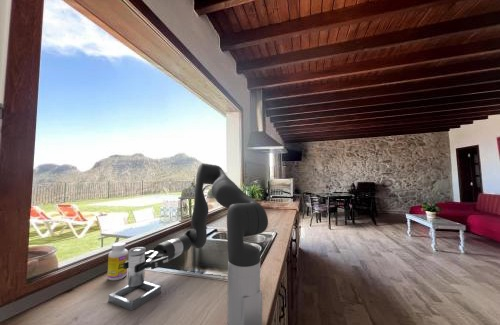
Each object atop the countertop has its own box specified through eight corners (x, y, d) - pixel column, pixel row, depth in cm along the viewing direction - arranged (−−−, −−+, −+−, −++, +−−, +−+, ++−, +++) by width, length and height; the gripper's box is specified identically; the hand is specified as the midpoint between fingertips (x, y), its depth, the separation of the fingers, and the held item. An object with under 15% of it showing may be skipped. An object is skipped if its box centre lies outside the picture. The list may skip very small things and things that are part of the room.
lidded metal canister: (146, 283, 71) (147, 250, 71) (128, 288, 68) (129, 253, 68) (143, 277, 75) (144, 245, 75) (126, 281, 72) (127, 248, 72)
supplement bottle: (117, 282, 80) (119, 247, 81) (102, 280, 81) (104, 246, 82) (130, 273, 86) (132, 242, 87) (117, 272, 88) (118, 240, 88)
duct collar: (160, 292, 74) (160, 286, 74) (131, 310, 64) (131, 303, 64) (138, 284, 78) (138, 279, 78) (108, 301, 68) (108, 294, 68)
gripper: (156, 238, 88) (115, 252, 72) (182, 243, 82) (145, 260, 66) (155, 256, 87) (114, 274, 72) (182, 263, 81) (144, 284, 66)
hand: (129, 267), depth 69 cm, fingers closed on lidded metal canister, 5 cm apart
